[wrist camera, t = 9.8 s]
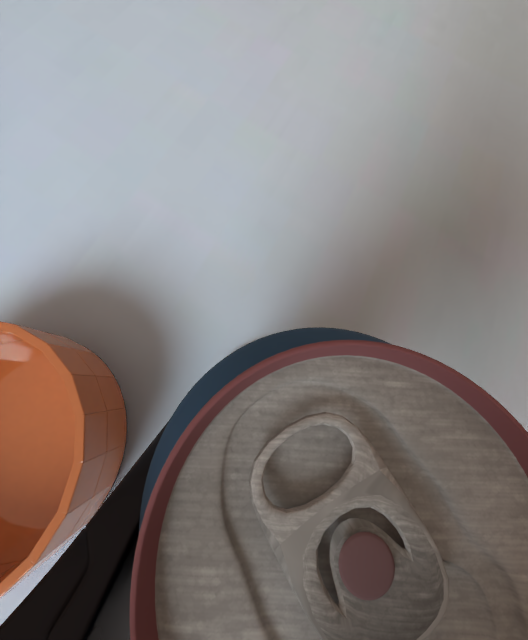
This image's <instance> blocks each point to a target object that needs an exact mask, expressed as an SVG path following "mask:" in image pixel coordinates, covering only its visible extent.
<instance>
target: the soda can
mask: <svg viewBox="0 0 528 640" xmlns="http://www.w3.org/2000/svg"><path fill="white" fill-rule="evenodd" d="M130 640H528V432H527V431H526V430H525V429H524V428H523V427H522V425H521V424H520V423H519V422H518V421H517V420H516V419H515V418H514V417H513V416H512V415H511V414H510V413H509V412H508V411H507V410H506V409H505V408H504V407H503V406H502V405H501V404H500V403H499V402H498V401H497V400H495V399H494V398H493V397H492V396H491V395H489V394H488V393H487V392H486V391H485V390H483V389H482V388H481V387H479V386H478V385H477V384H475V383H474V382H473V381H471V380H470V379H468V378H467V377H465V376H464V375H462V374H460V373H459V372H457V371H456V370H454V369H452V368H450V367H448V366H447V365H445V364H443V363H441V362H439V361H437V360H435V359H432V358H430V357H428V356H426V355H423V354H421V353H418V352H415V351H412V350H409V349H406V348H403V347H399V346H395V345H392V344H389V343H387V342H385V341H383V340H380V339H377V338H375V337H372V336H369V335H365V334H362V333H359V332H354V331H349V330H343V329H336V328H302V329H294V330H289V331H284V332H280V333H276V334H272V335H269V336H266V337H264V338H261V339H258V340H256V341H254V342H252V343H249V344H247V345H245V346H244V347H242V348H240V349H238V350H236V351H235V352H233V353H232V354H230V355H229V356H227V357H226V358H224V359H223V360H222V361H220V362H219V363H218V364H216V365H215V366H214V367H213V368H212V369H210V370H209V371H208V372H207V373H206V374H205V375H204V376H203V377H202V378H201V379H200V380H199V381H198V382H197V383H196V384H195V385H194V387H193V388H192V389H191V390H190V391H189V392H188V394H187V395H186V396H185V398H184V399H183V400H182V402H181V403H180V404H179V406H178V407H177V409H176V410H175V412H174V414H173V415H172V417H171V418H170V420H169V422H168V424H167V426H166V428H165V430H164V432H163V434H162V436H161V438H160V440H159V443H158V445H157V447H156V450H155V453H154V455H153V458H152V461H151V464H150V467H149V471H148V474H147V478H146V482H145V487H144V492H143V497H142V504H141V511H140V523H139V536H138V541H137V546H136V550H135V556H134V563H133V570H132V579H131V591H130Z"/></svg>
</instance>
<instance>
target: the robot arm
mask: <svg viewBox="0 0 528 640" xmlns="http://www.w3.org/2000/svg"><path fill="white" fill-rule="evenodd" d="M168 422H169V421H168ZM167 424H168V423H167ZM167 424H166V425H165V426H164V428H163V429H162V430H161V431H160V433H159V434H158V435H157V436H156V438H155V439H154V440H153V442H152V443H151V444H150V445H149V447H148V448H147V449H146V450H145V452H144V453H143V454H142V455H141V457H140V458H139V459H138V460H137V462H136V463H135V464H134V466H133V467H132V468H131V469H130V471H129V472H128V473H127V474H126V476H125V477H124V478H123V479H122V481H121V482H120V483H119V485H118V486H117V487H116V488H115V490H114V491H113V492H112V493H111V495H110V496H109V497H108V498H107V500H106V501H105V502H104V503H103V505H102V506H101V507H100V509H99V510H98V511H97V512H96V514H95V515H94V516H93V517H92V519H91V520H90V521H89V522H88V524H87V525H86V528H84V529H83V530H82V531H81V532H80V534H79V535H78V536H77V537H76V539H75V540H74V541H73V542H72V544H71V545H70V546H69V547H68V549H67V550H66V551H65V552H64V553H63V555H62V556H61V557H60V558H59V560H58V561H57V562H56V563H55V564H54V566H53V567H52V568H51V569H50V571H49V572H48V573H47V574H46V575H45V576H44V577H43V579H42V580H41V581H40V582H39V583H38V584H37V585H36V587H35V588H34V589H33V590H32V591H31V592H30V593H29V595H28V596H27V597H26V598H25V599H24V600H23V601H22V603H21V604H20V605H19V606H18V607H17V608H16V609H15V610H14V611H13V613H12V614H11V615H10V616H9V617H8V618H7V619H6V620H5V621H4V622H3V624H2V625H1V626H0V640H130V591H131V579H132V570H133V563H134V556H135V550H136V546H137V541H138V536H139V523H140V511H141V504H142V497H143V492H144V487H145V482H146V478H147V474H148V471H149V467H150V464H151V461H152V458H153V455H154V453H155V450H156V447H157V445H158V443H159V440H160V438H161V436H162V434H163V432H164V430H165V428H166V426H167Z"/></svg>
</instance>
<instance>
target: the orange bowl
mask: <svg viewBox="0 0 528 640" xmlns="http://www.w3.org/2000/svg"><path fill="white" fill-rule="evenodd" d="M126 433H127V420H126V410H125V404H124V399H123V396H122V393H121V390H120V387H119V385H118V383H117V381H116V379H115V377H114V375H113V374H112V373H111V371H110V370H109V368H108V367H107V365H106V364H105V363H104V362H103V361H102V360H101V359H100V358H99V357H98V356H97V355H95V354H94V353H93V352H92V351H90V350H89V349H88V348H86V347H84V346H82V345H80V344H79V343H76V342H74V341H72V340H70V339H69V338H66V337H62V336H58V335H54V334H50V333H47V332H43V331H39V330H35V329H31V328H27V327H24V326H20V325H16V324H11V323H6V322H0V599H1V598H2V597H4V596H5V595H6V594H7V593H8V592H9V591H11V590H12V589H13V588H14V587H15V586H17V585H18V584H19V583H20V582H21V581H23V580H24V579H25V578H26V577H27V576H29V575H30V574H31V573H32V572H33V571H35V570H36V569H37V568H38V567H39V566H41V565H42V564H43V563H44V562H45V561H46V560H48V559H49V558H50V557H51V556H52V555H54V554H55V553H56V552H57V551H58V550H60V549H61V548H62V547H63V546H64V545H65V544H66V543H67V542H68V541H69V540H70V539H71V538H72V537H73V536H74V535H75V534H77V533H78V532H79V531H80V530H81V529H82V528H83V527H84V526H85V525H86V524H87V523H88V522H89V521H90V520H91V519H92V517H93V515H94V514H95V513H96V511H97V510H98V509H99V507H100V506H101V505H102V503H103V501H104V500H105V498H106V496H107V495H108V493H109V491H110V490H111V487H112V485H113V483H114V481H115V479H116V476H117V474H118V471H119V468H120V465H121V462H122V459H123V454H124V449H125V444H126Z"/></svg>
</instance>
